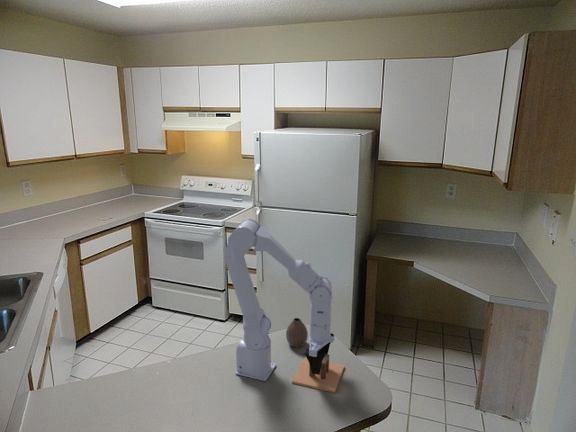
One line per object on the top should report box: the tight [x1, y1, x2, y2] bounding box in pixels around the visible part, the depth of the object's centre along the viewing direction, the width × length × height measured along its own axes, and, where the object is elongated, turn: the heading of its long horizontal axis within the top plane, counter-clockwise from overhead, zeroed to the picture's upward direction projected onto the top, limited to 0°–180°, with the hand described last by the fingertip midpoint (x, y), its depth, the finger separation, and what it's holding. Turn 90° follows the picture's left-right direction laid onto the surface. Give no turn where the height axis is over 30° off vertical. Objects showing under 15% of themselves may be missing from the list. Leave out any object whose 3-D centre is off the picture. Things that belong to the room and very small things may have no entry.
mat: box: [291, 356, 345, 393], centre depth 113 cm, size 12×12×1 cm
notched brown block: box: [309, 354, 330, 379], centre depth 112 cm, size 4×4×5 cm
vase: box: [285, 317, 309, 348], centre depth 128 cm, size 7×7×9 cm
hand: (319, 365), depth 112 cm, fingers open, 7 cm apart
